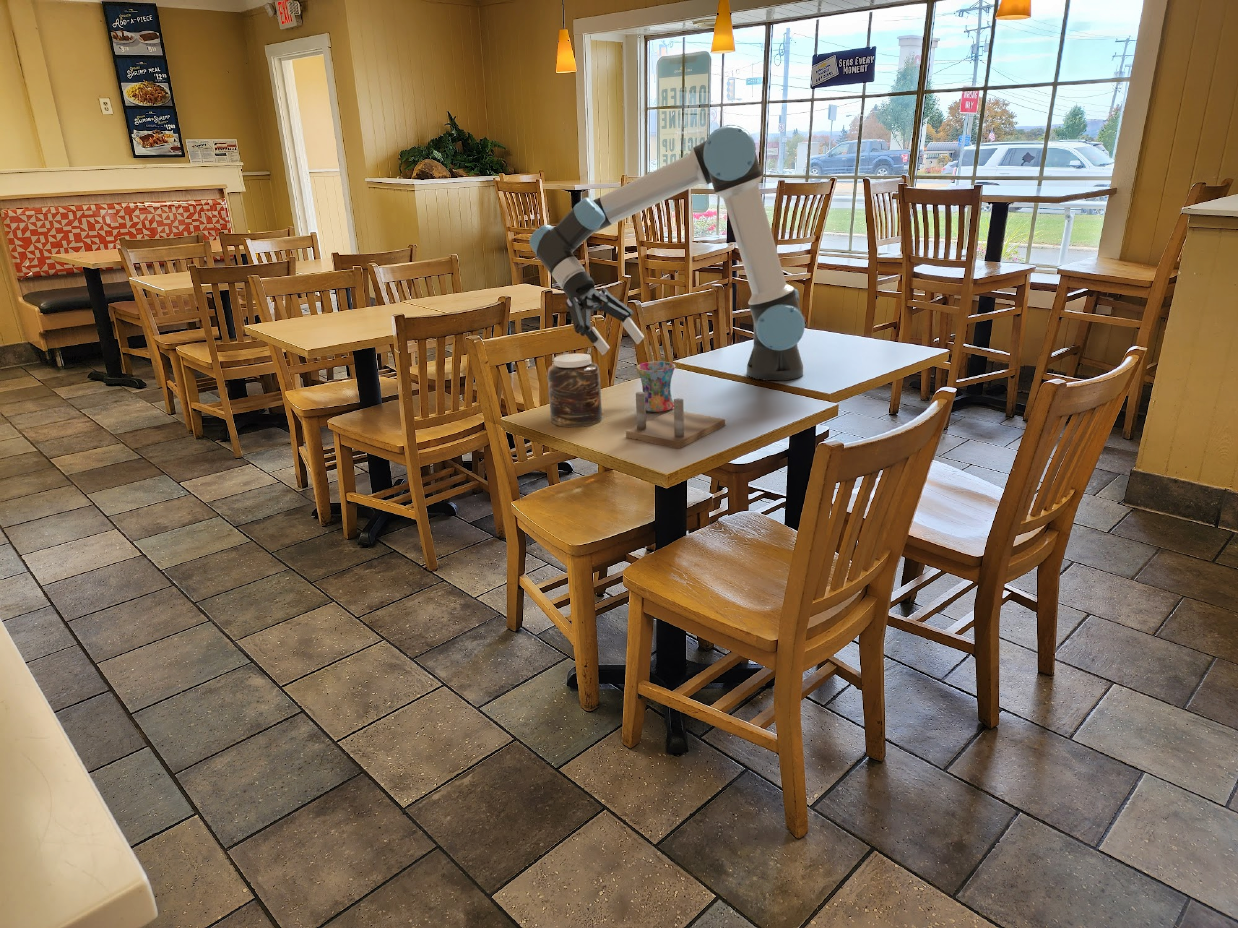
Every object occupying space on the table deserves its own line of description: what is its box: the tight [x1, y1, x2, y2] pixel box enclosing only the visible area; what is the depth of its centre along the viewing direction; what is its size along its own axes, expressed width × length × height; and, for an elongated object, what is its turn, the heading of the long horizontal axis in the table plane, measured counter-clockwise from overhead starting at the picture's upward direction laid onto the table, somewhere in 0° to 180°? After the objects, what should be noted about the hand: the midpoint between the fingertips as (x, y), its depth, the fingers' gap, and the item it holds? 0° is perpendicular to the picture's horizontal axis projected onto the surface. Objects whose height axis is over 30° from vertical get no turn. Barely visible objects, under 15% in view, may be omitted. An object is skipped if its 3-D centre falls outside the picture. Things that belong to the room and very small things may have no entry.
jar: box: [547, 353, 603, 428], centre depth 187 cm, size 12×12×15 cm
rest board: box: [625, 391, 726, 449], centre depth 177 cm, size 18×14×10 cm
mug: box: [635, 361, 676, 413], centre depth 195 cm, size 12×9×11 cm
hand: (623, 346), depth 197 cm, fingers open, 13 cm apart
